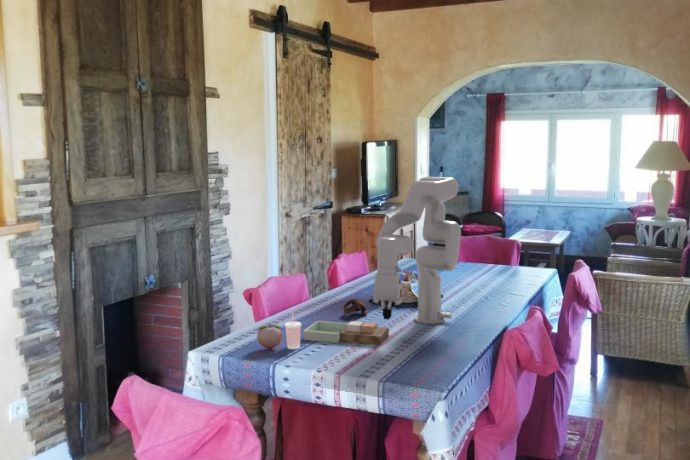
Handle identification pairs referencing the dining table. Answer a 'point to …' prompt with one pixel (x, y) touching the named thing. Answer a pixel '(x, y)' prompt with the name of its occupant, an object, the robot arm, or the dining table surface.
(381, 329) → the walnut board
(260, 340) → the decorative fruit
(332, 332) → the tray
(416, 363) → the dining table surface
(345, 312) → the dark brown domed piece
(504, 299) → the dining table surface
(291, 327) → the beverage cup
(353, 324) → the tile cream
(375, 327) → the tile terracotta
